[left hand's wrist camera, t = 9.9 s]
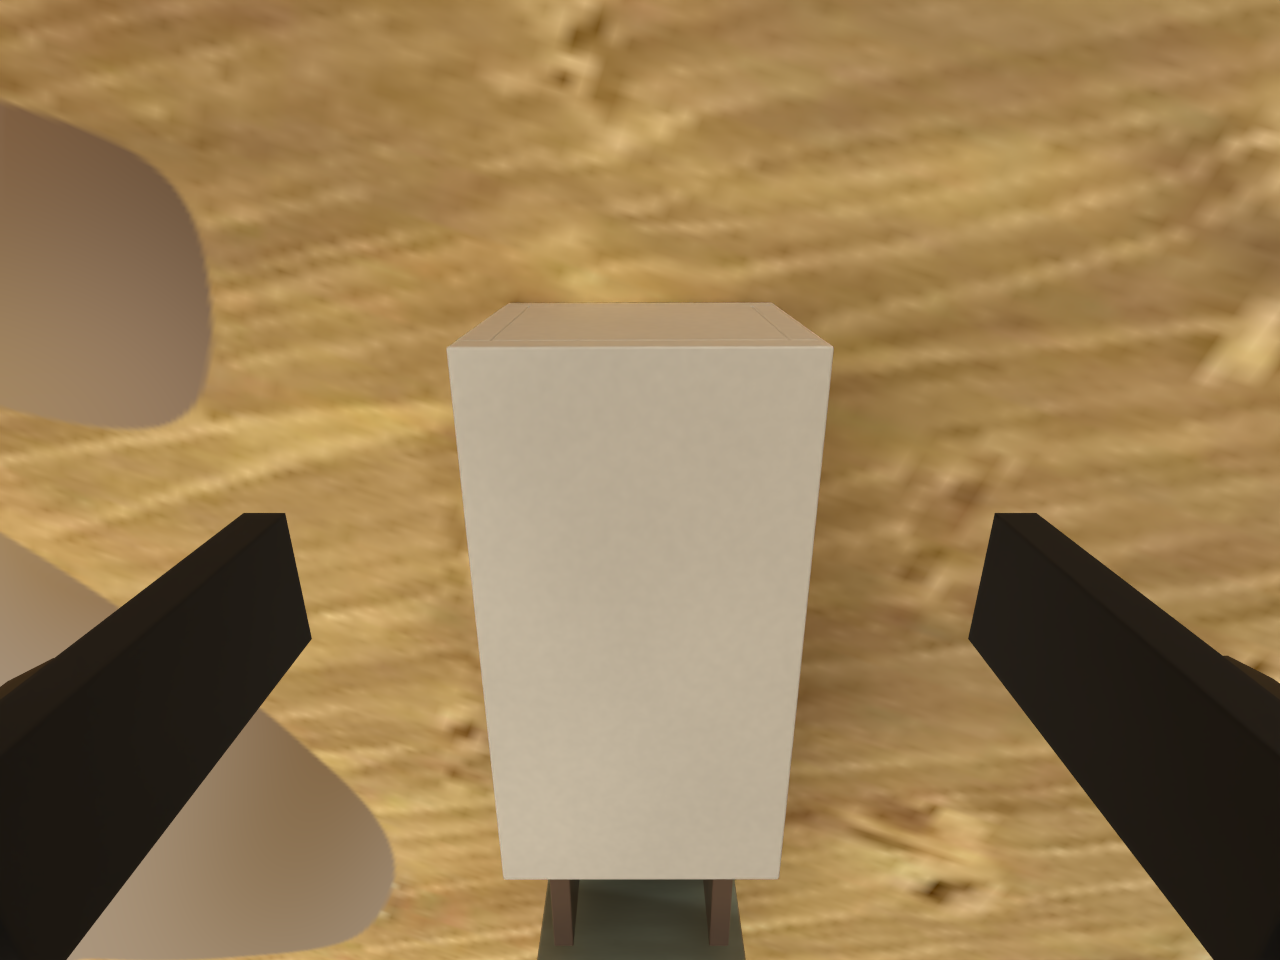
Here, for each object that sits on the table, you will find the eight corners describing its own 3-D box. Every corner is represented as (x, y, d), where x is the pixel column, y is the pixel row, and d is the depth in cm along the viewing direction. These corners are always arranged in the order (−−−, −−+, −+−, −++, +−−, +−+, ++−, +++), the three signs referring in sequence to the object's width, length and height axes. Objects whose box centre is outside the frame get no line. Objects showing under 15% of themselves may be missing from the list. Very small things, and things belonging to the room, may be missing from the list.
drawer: (722, 929, 37) (739, 1080, 31) (560, 929, 38) (543, 1080, 31) (746, 534, 29) (778, 630, 22) (534, 535, 29) (503, 630, 22)
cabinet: (744, 712, 33) (779, 880, 25) (537, 712, 33) (502, 880, 25) (772, 302, 26) (834, 346, 18) (507, 302, 26) (445, 346, 18)
